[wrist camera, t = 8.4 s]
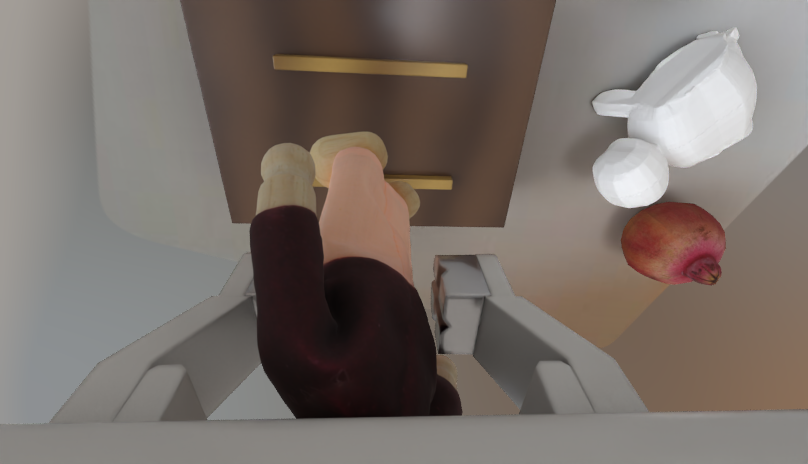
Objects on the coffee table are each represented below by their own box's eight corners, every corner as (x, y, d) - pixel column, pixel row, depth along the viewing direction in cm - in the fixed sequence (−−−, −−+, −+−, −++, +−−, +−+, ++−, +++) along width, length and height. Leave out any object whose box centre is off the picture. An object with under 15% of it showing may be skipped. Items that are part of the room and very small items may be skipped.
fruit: (698, 204, 38) (789, 260, 30) (641, 260, 42) (707, 324, 33) (644, 173, 36) (726, 224, 27) (589, 235, 39) (646, 297, 31)
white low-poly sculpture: (655, 29, 32) (541, 154, 31) (777, -1, 24) (628, 164, 24) (686, 104, 35) (585, 216, 35) (801, 98, 28) (672, 242, 27)
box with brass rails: (257, 186, 34) (228, 228, 28) (221, -17, 26) (166, -26, 19) (483, 191, 36) (506, 232, 29) (518, 1, 27) (562, -2, 21)
